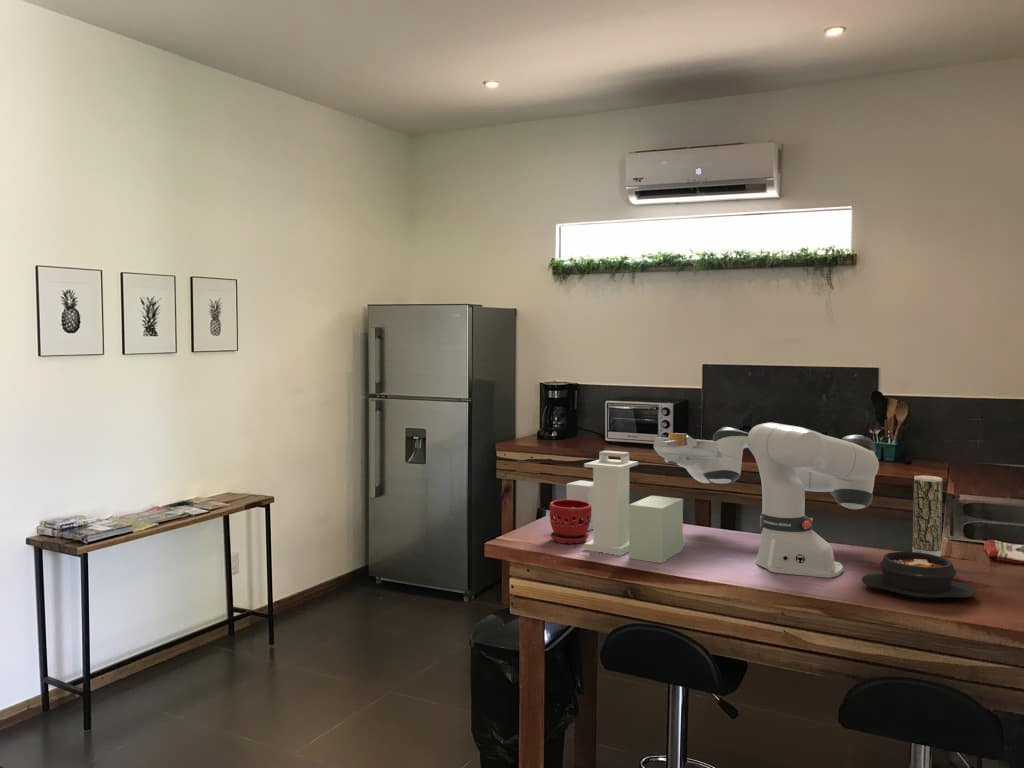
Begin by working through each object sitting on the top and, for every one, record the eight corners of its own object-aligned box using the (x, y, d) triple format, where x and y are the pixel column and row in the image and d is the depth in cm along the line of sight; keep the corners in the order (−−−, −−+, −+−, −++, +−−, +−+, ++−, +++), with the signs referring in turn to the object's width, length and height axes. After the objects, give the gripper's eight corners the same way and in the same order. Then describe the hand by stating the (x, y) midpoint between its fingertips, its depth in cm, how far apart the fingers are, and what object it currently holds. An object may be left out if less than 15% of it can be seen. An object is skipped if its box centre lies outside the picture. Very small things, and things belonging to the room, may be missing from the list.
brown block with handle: (687, 445, 247) (687, 433, 247) (670, 448, 235) (671, 435, 235) (674, 444, 249) (675, 432, 249) (657, 447, 237) (657, 434, 237)
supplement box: (603, 526, 268) (603, 482, 267) (588, 531, 261) (588, 486, 260) (581, 522, 273) (580, 479, 272) (565, 527, 266) (565, 483, 266)
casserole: (860, 597, 192) (861, 563, 191) (861, 576, 209) (862, 545, 208) (980, 611, 182) (981, 575, 181) (970, 588, 198) (971, 555, 198)
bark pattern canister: (925, 573, 211) (927, 480, 210) (906, 566, 217) (908, 476, 216) (946, 571, 213) (948, 479, 211) (926, 564, 219) (928, 475, 218)
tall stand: (637, 546, 240) (638, 451, 239) (621, 555, 230) (621, 456, 229) (602, 541, 247) (602, 449, 245) (584, 550, 237) (584, 453, 235)
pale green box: (682, 550, 236) (682, 498, 235) (661, 563, 222) (662, 508, 222) (651, 546, 241) (651, 495, 240) (629, 558, 228) (629, 504, 227)
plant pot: (553, 546, 241) (553, 507, 240) (546, 536, 254) (546, 499, 253) (595, 545, 243) (595, 506, 242) (586, 535, 256) (586, 498, 255)
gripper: (722, 466, 249) (709, 449, 239) (660, 461, 261) (646, 444, 250) (725, 448, 252) (713, 430, 241) (664, 444, 263) (650, 426, 253)
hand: (678, 437), depth 246 cm, fingers closed on brown block with handle, 4 cm apart
